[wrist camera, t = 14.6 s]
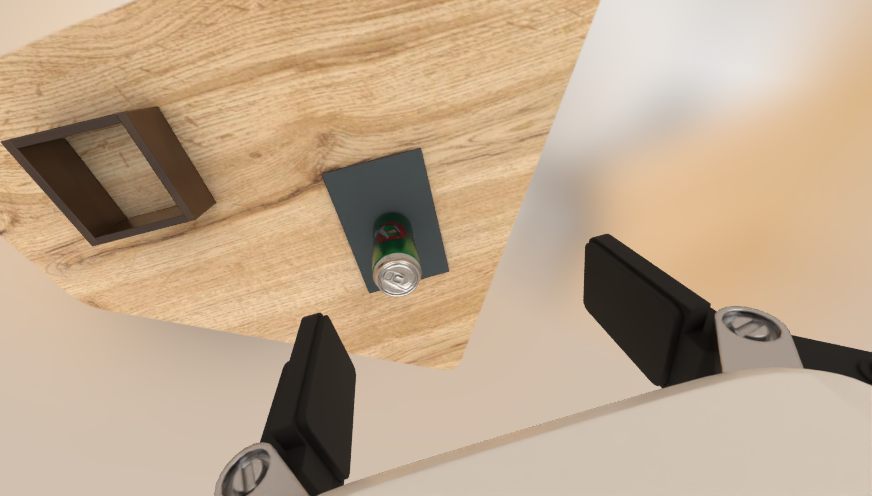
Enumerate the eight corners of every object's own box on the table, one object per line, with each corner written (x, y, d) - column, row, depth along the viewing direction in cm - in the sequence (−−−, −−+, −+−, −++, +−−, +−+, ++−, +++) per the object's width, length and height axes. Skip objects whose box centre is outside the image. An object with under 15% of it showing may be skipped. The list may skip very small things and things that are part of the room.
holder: (50, 132, 31) (-1, 141, 27) (158, 106, 32) (124, 111, 28) (125, 226, 37) (92, 246, 32) (216, 202, 37) (195, 219, 33)
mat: (322, 173, 38) (321, 174, 37) (420, 147, 38) (421, 148, 38) (369, 291, 47) (369, 293, 46) (448, 269, 47) (449, 271, 47)
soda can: (401, 250, 44) (409, 305, 33) (366, 237, 42) (364, 291, 31) (418, 219, 42) (432, 267, 31) (382, 204, 40) (385, 249, 30)
